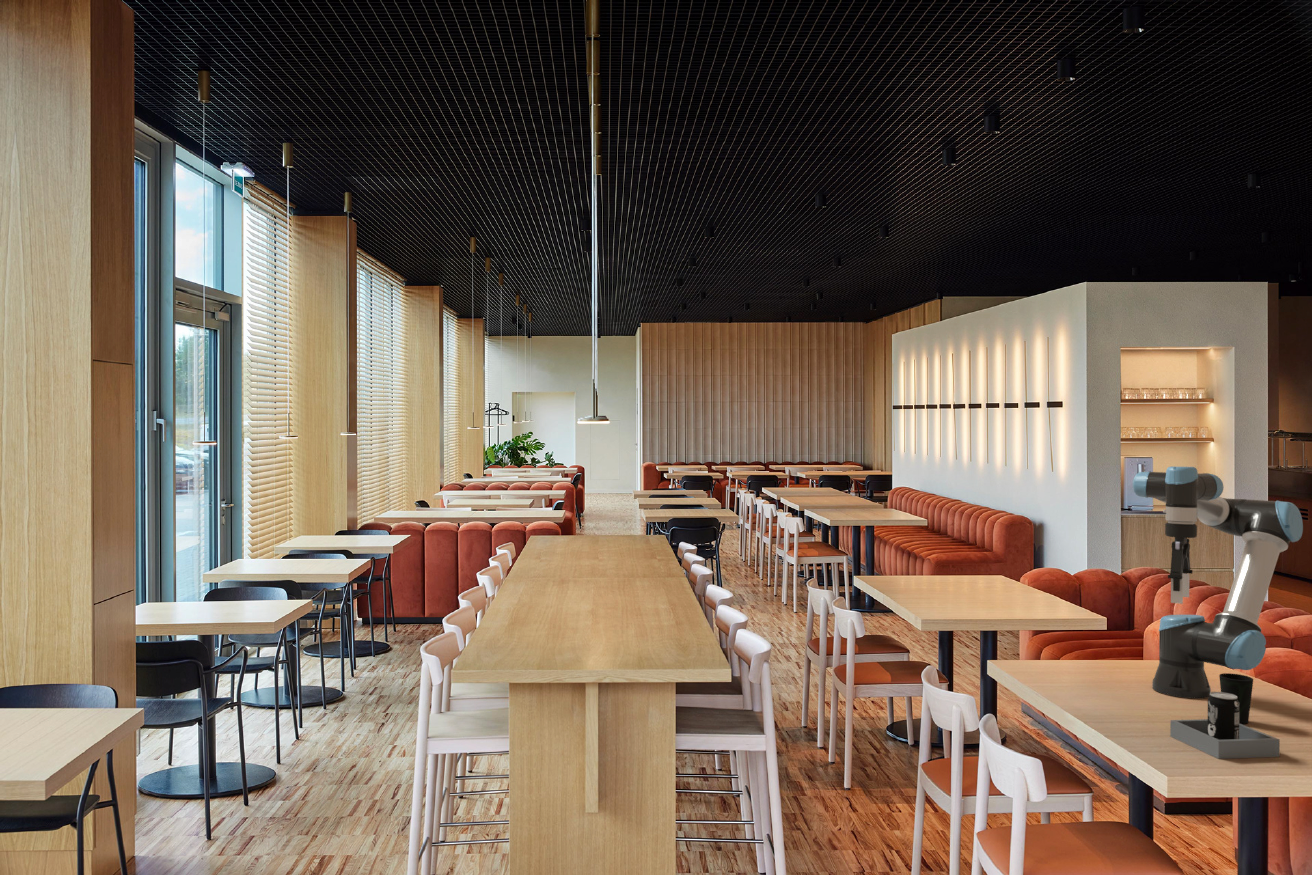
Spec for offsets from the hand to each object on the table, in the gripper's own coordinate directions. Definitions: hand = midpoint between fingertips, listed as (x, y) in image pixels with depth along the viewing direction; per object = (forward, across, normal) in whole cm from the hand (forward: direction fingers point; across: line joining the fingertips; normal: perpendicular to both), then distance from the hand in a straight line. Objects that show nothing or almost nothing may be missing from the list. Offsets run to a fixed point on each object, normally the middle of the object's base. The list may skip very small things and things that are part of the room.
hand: (1180, 599), depth 241 cm
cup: (+32, -4, +13) cm, 35 cm away
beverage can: (+31, +22, +12) cm, 40 cm away
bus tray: (+32, +22, +12) cm, 40 cm away
